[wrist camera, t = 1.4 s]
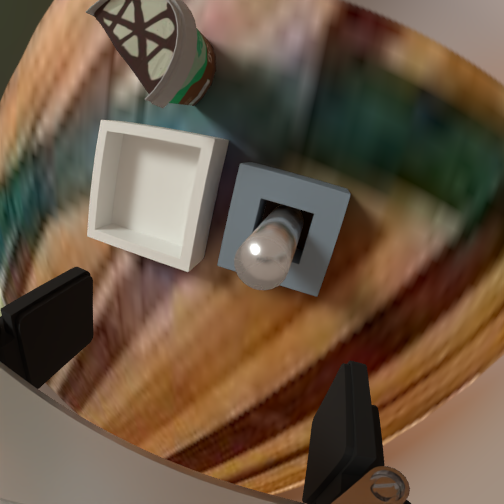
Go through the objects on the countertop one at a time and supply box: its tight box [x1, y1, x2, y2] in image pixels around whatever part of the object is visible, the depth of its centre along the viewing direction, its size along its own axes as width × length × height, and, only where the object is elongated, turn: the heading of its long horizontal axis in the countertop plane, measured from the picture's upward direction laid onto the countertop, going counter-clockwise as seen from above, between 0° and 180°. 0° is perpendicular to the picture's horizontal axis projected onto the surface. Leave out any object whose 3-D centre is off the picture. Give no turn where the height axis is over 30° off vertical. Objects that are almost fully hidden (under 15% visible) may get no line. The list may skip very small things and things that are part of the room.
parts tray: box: [87, 120, 229, 272], centre depth 30 cm, size 12×12×4 cm
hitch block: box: [217, 162, 351, 297], centre depth 28 cm, size 9×9×4 cm
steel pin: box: [234, 205, 304, 290], centre depth 24 cm, size 3×3×12 cm
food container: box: [86, 0, 216, 108], centre depth 22 cm, size 12×6×10 cm, turn 35°
